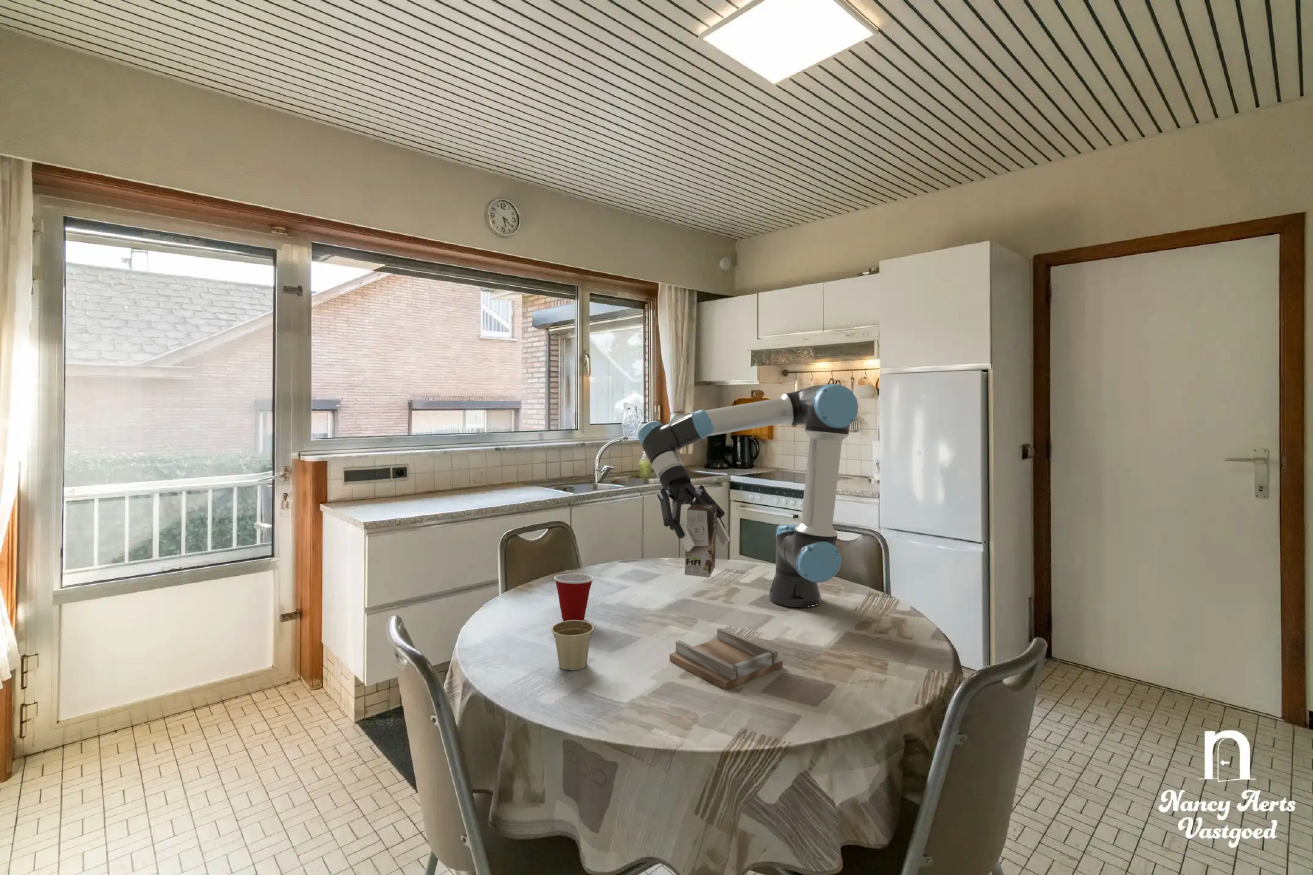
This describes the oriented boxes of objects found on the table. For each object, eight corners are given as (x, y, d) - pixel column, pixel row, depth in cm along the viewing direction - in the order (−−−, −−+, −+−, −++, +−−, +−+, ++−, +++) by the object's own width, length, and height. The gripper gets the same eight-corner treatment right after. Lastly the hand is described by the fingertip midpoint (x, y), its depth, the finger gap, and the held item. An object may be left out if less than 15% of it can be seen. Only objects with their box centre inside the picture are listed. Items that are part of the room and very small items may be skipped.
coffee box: (710, 578, 144) (712, 510, 143) (683, 575, 146) (686, 508, 145) (715, 567, 153) (718, 504, 152) (690, 565, 155) (692, 502, 154)
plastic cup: (600, 615, 169) (600, 572, 168) (583, 629, 158) (583, 583, 158) (565, 611, 172) (565, 569, 171) (546, 623, 162) (546, 579, 161)
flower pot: (575, 678, 130) (575, 638, 129) (542, 667, 135) (542, 629, 134) (602, 662, 138) (602, 625, 137) (570, 653, 143) (570, 617, 142)
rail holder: (725, 642, 151) (726, 626, 150) (782, 667, 136) (783, 649, 136) (669, 660, 139) (669, 643, 139) (725, 689, 125) (725, 670, 125)
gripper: (698, 479, 167) (736, 547, 156) (628, 484, 154) (663, 560, 142) (712, 462, 163) (751, 531, 151) (641, 466, 149) (678, 542, 138)
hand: (709, 545), depth 147 cm, fingers closed on coffee box, 11 cm apart
